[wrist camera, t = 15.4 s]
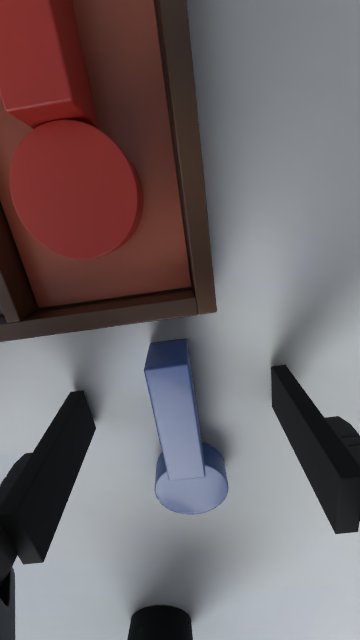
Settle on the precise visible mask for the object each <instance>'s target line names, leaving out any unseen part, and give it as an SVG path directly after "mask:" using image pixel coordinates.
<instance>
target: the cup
mask: <svg viewBox="0 0 360 640" xmlns="http://www.w3.org/2000/svg"><path fill="white" fill-rule="evenodd" d="M128 640H193V637H192V626H191V618H190V617H189V615H188V614H187V613H186V612H184V611H182V610H180V609H178V608H175V607H170V606H152V607H147V608H144V609H141V610H139V611H137V612H136V613H135V614H134V615H133V616H132V618H131V623H130V629H129V634H128Z"/></svg>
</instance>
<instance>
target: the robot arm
mask: <svg viewBox="0 0 360 640" xmlns="http://www.w3.org/2000/svg"><path fill="white" fill-rule="evenodd" d="M271 377H272V408H273V410H274V412H275V414H276V416H277V418H278V420H279V422H280V424H281V426H282V428H283V430H284V432H285V434H286V436H287V438H288V440H289V442H290V444H291V446H292V448H293V450H294V452H295V454H296V456H297V458H298V460H299V462H300V464H301V466H302V468H303V470H304V472H305V474H306V476H307V478H308V480H309V482H310V484H311V486H312V488H313V490H314V492H315V494H316V496H317V498H318V500H319V502H320V504H321V506H322V508H323V510H324V512H325V514H326V516H327V518H328V520H329V522H330V524H331V526H332V528H333V530H334V532H335V534H341V533H351V532H358V528H359V521H360V436H359V434H358V433H357V431H356V430H355V429H354V428H353V427H352V425H351V424H349V423H348V422H346V421H345V420H343V419H342V418H340V417H339V416H336V417H328V418H324V417H323V415H322V414H321V413H320V411H319V410H318V409H317V407H316V406H315V405H314V403H313V402H312V400H311V399H310V398H309V396H308V395H307V394H306V392H305V391H304V390H303V388H302V387H301V385H300V384H299V383H298V381H297V380H296V379H295V377H294V376H293V375H292V373H291V372H290V371H289V369H288V368H287V366H286V365H280V366H272V367H271ZM95 429H96V426H95V423H94V420H93V417H92V414H91V411H90V408H89V405H88V402H87V399H86V396H85V393H84V390H83V391H75V392H70V394H69V395H68V397H67V398H66V400H65V402H64V403H63V405H62V406H61V408H60V410H59V411H58V413H57V415H56V416H55V418H54V419H53V421H52V423H51V424H50V426H49V427H48V429H47V431H46V432H45V434H44V435H43V437H42V439H41V440H40V442H39V443H38V445H37V447H36V448H35V450H34V452H33V453H26V454H24V455H23V456H22V457H21V458H20V459H19V460H18V461H17V462H16V463H15V464H14V465H13V467H12V468H11V470H10V471H9V473H8V474H7V477H5V479H4V480H3V482H2V483H1V486H0V640H15V573H14V569H13V568H12V566H13V564H14V561H15V559H16V557H17V555H18V556H19V558H20V560H21V561H22V563H23V564H32V563H42V562H44V559H45V557H46V554H47V552H48V549H49V547H50V544H51V542H52V539H53V537H54V534H55V531H56V529H57V526H58V524H59V521H60V519H61V516H62V514H63V511H64V509H65V506H66V503H67V501H68V498H69V496H70V493H71V491H72V488H73V486H74V483H75V480H76V478H77V475H78V473H79V470H80V468H81V465H82V463H83V460H84V458H85V455H86V452H87V450H88V447H89V445H90V442H91V440H92V437H93V435H94V432H95Z"/></svg>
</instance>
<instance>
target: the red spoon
mask: <svg viewBox="0 0 360 640" xmlns="http://www.w3.org/2000/svg"><path fill="white" fill-rule="evenodd" d="M0 95H1V99H2V102H3V105H4V108H5V110H6V112H7V113H9V114H10V115H12V116H14V117H15V118H17V119H18V120H20V121H22V122H23V123H25V124H26V125H28V126H30V127H31V128H33V130H31V131H30V132H29V133H28V134H27V135H26V136H25V137H24V138H23V140H22V141H21V142H20V144H19V145H18V147H17V149H16V151H15V154H14V156H13V159H12V163H11V168H10V190H11V196H12V200H13V203H14V206H15V209H16V211H17V214H18V216H19V218H20V219H21V221H22V223H23V224H24V226H25V227H26V229H27V230H28V231H29V232H30V234H31V235H32V236H33V237H34V238H35V239H36V240H37V241H38V242H40V243H41V244H42V245H43V246H45V247H46V248H48V249H49V250H51V251H53V252H55V253H57V254H59V255H62V256H65V257H68V258H73V259H83V260H84V259H93V258H98V257H101V256H104V255H106V254H108V253H110V252H112V251H114V250H116V249H118V248H120V247H121V246H122V245H124V244H125V243H126V242H127V241H128V240H129V239H130V238H131V237H132V236H133V234H134V233H135V231H136V229H137V227H138V225H139V223H140V220H141V216H142V211H143V192H142V187H141V182H140V180H139V177H138V174H137V172H136V170H135V168H134V166H133V165H132V163H131V162H130V160H129V159H128V158H127V156H126V155H125V154H124V153H123V151H122V150H121V149H120V148H119V147H118V145H117V144H116V143H115V142H114V141H113V140H112V139H111V138H110V137H109V136H108V135H106V134H105V133H103V132H102V131H101V130H99V129H98V124H97V119H96V114H95V109H94V105H93V100H92V95H91V91H90V86H89V81H88V76H87V72H86V67H85V62H84V58H83V53H82V48H81V43H80V39H79V34H78V29H77V25H76V20H75V15H74V10H73V6H72V1H71V0H0Z"/></svg>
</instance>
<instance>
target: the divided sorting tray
mask: <svg viewBox="0 0 360 640" xmlns="http://www.w3.org/2000/svg"><path fill="white" fill-rule="evenodd" d="M71 1H72V6H73V10H74V15H75V20H76V25H77V29H78V34H79V39H80V43H81V48H82V53H83V58H84V62H85V67H86V72H87V76H88V81H89V86H90V91H91V95H92V100H93V105H94V109H95V114H96V119H97V124H98V129H99V130H101V131H102V132H103V133H105V134H106V135H108V136H109V137H110V138H111V139H112V140H113V141H114V142H115V143H116V144H117V145H118V147H119V148H120V149H121V150H122V151H123V153H124V154H125V155H126V156H127V158H128V159H129V160H130V162H131V163H132V165H133V166H134V168H135V170H136V172H137V174H138V177H139V180H140V182H141V187H142V192H143V211H142V216H141V220H140V223H139V225H138V227H137V229H136V231H135V233H134V234H133V236H132V237H131V238H130V239H129V240H128V241H127V242H126V243H125V244H124V245H122V246H121V247H120V248H118V249H116V250H114V251H112V252H110V253H108V254H106V255H104V256H101V257H98V258H93V259H84V260H83V259H73V258H68V257H65V256H62V255H59V254H57V253H55V252H53V251H51V250H49V249H48V248H46V247H45V246H43V245H42V244H41V243H40V242H38V241H37V240H36V239H35V238H34V237H33V236H32V235H31V234H30V232H29V231H28V230H27V229H26V227H25V226H24V224H23V223H22V221H21V219H20V218H19V216H18V214H17V211H16V209H15V206H14V203H13V200H12V196H11V190H10V168H11V163H12V159H13V156H14V154H15V151H16V149H17V147H18V145H19V144H20V142H21V141H22V140H23V138H24V137H25V136H26V135H27V134H28V133H29V132H30V131H31V130H33V128H31V127H30V126H28V125H26V124H25V123H23V122H22V121H20V120H18V119H17V118H15V117H14V116H12V115H10V114H9V113H7V112H6V110H5V108H4V105H3V102H2V99H1V95H0V342H3V341H11V340H18V339H25V338H33V337H40V336H47V335H55V334H62V333H69V332H77V331H84V330H91V329H99V328H106V327H113V326H121V325H128V324H135V323H143V322H150V321H157V320H164V319H172V318H179V317H186V316H194V315H198V314H207V313H214V312H216V311H217V307H216V297H215V287H214V276H213V266H212V256H211V246H210V235H209V225H208V215H207V205H206V194H205V184H204V174H203V164H202V154H201V143H200V133H199V123H198V113H197V102H196V92H195V82H194V72H193V61H192V51H191V41H190V31H189V20H188V10H187V0H71Z"/></svg>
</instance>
